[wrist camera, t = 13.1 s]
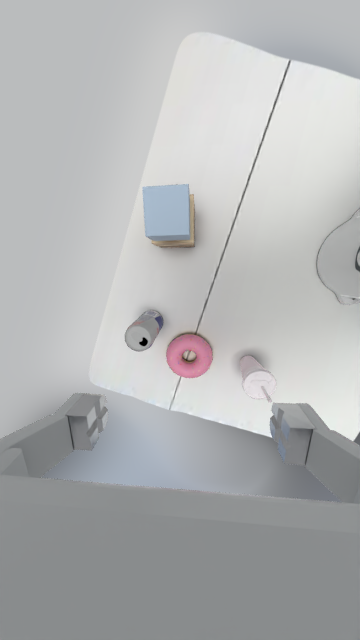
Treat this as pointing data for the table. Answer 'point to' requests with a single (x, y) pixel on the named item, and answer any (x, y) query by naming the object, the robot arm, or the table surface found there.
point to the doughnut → (191, 344)
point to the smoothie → (256, 379)
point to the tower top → (191, 241)
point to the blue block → (167, 212)
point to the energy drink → (144, 331)
